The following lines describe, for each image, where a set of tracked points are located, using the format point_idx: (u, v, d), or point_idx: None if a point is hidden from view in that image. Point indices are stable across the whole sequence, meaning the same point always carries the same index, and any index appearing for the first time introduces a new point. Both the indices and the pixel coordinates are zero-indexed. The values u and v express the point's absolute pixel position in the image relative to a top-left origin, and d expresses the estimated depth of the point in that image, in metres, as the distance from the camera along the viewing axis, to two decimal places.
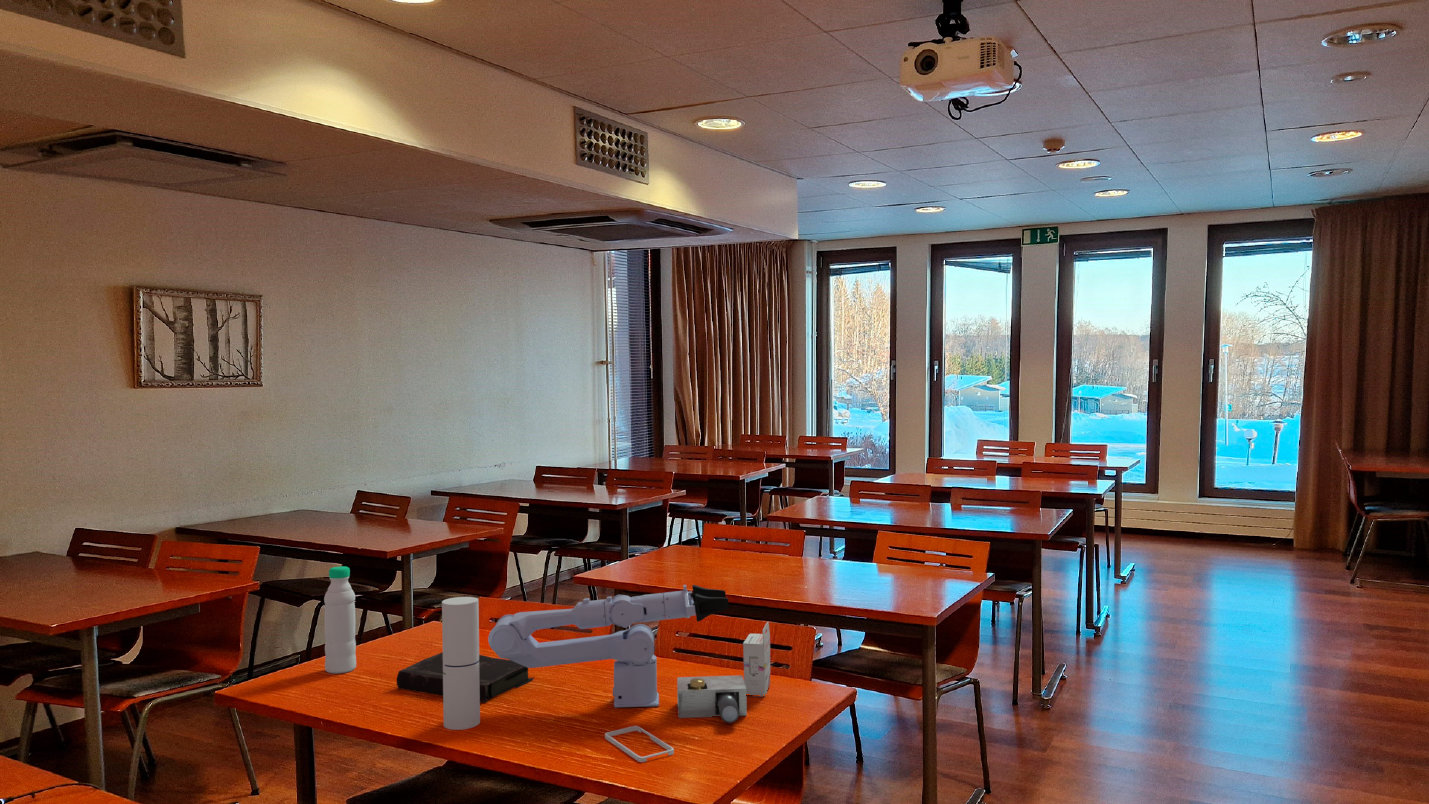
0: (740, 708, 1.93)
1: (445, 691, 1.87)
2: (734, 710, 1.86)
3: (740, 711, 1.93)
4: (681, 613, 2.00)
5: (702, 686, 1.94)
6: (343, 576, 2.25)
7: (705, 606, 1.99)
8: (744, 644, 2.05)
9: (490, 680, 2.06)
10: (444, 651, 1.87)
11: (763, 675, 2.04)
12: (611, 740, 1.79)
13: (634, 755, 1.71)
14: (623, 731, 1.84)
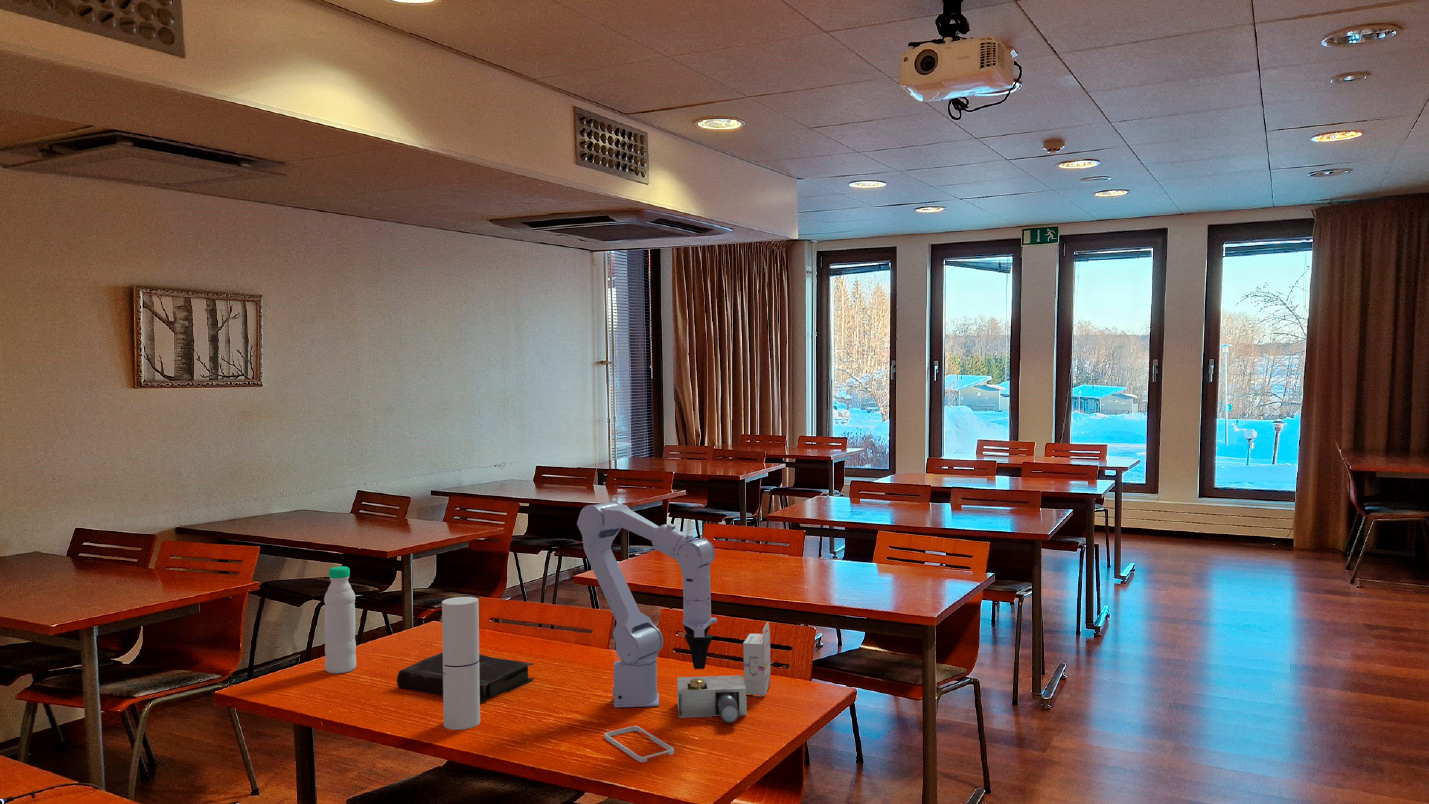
0: (740, 708, 1.93)
1: (445, 691, 1.87)
2: (734, 710, 1.86)
3: (740, 711, 1.93)
4: (691, 617, 1.92)
5: (702, 686, 1.94)
6: (343, 576, 2.25)
7: (699, 645, 1.90)
8: (744, 644, 2.05)
9: (488, 680, 2.05)
10: (444, 651, 1.87)
11: (763, 675, 2.04)
12: (611, 740, 1.79)
13: (634, 755, 1.71)
14: (622, 731, 1.84)
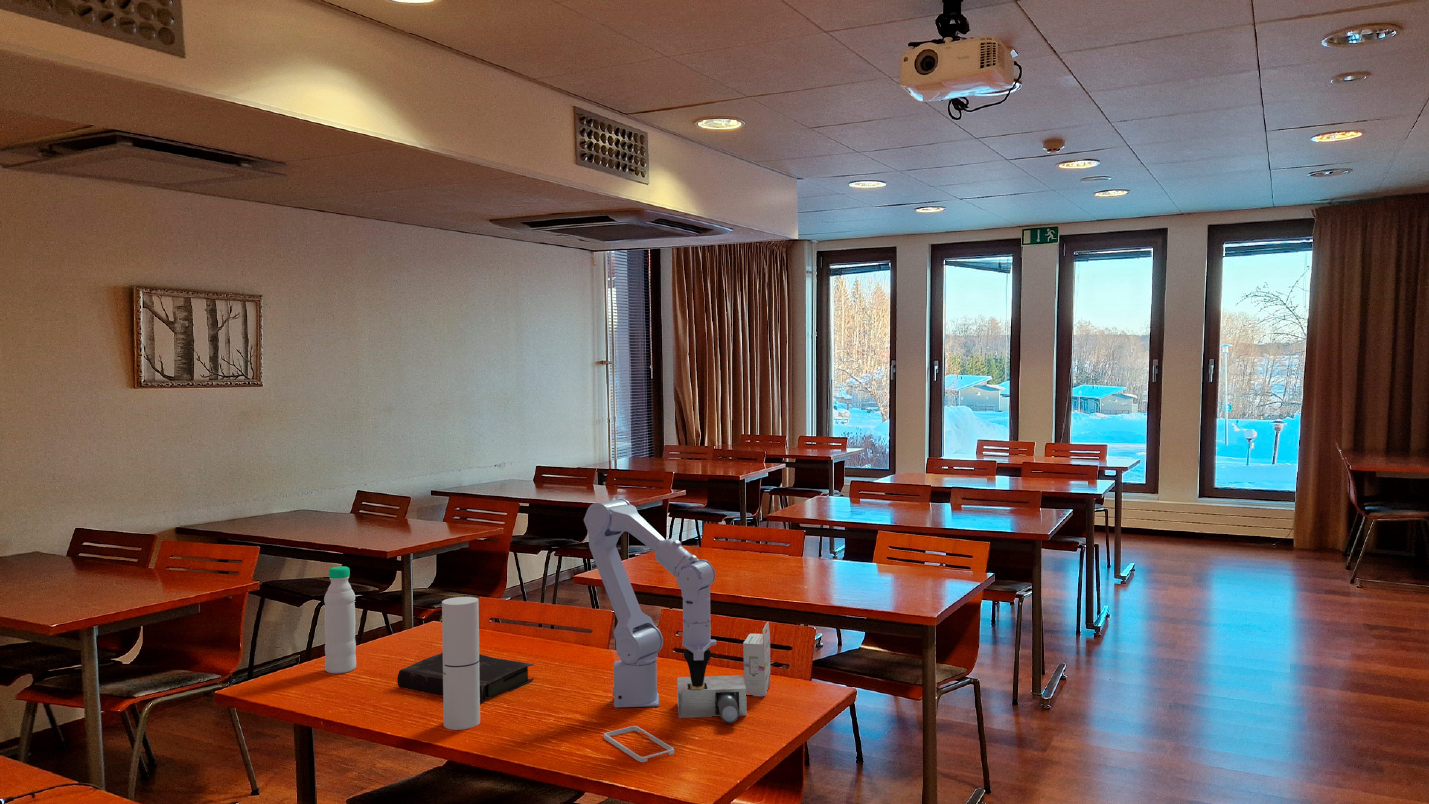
0: (740, 708, 1.93)
1: (445, 691, 1.87)
2: (734, 710, 1.86)
3: (740, 711, 1.93)
4: (691, 639, 1.92)
5: None
6: (343, 576, 2.25)
7: (697, 662, 1.94)
8: (744, 644, 2.05)
9: (487, 680, 2.05)
10: (444, 651, 1.87)
11: (763, 675, 2.04)
12: (610, 740, 1.79)
13: (634, 755, 1.71)
14: (622, 731, 1.84)
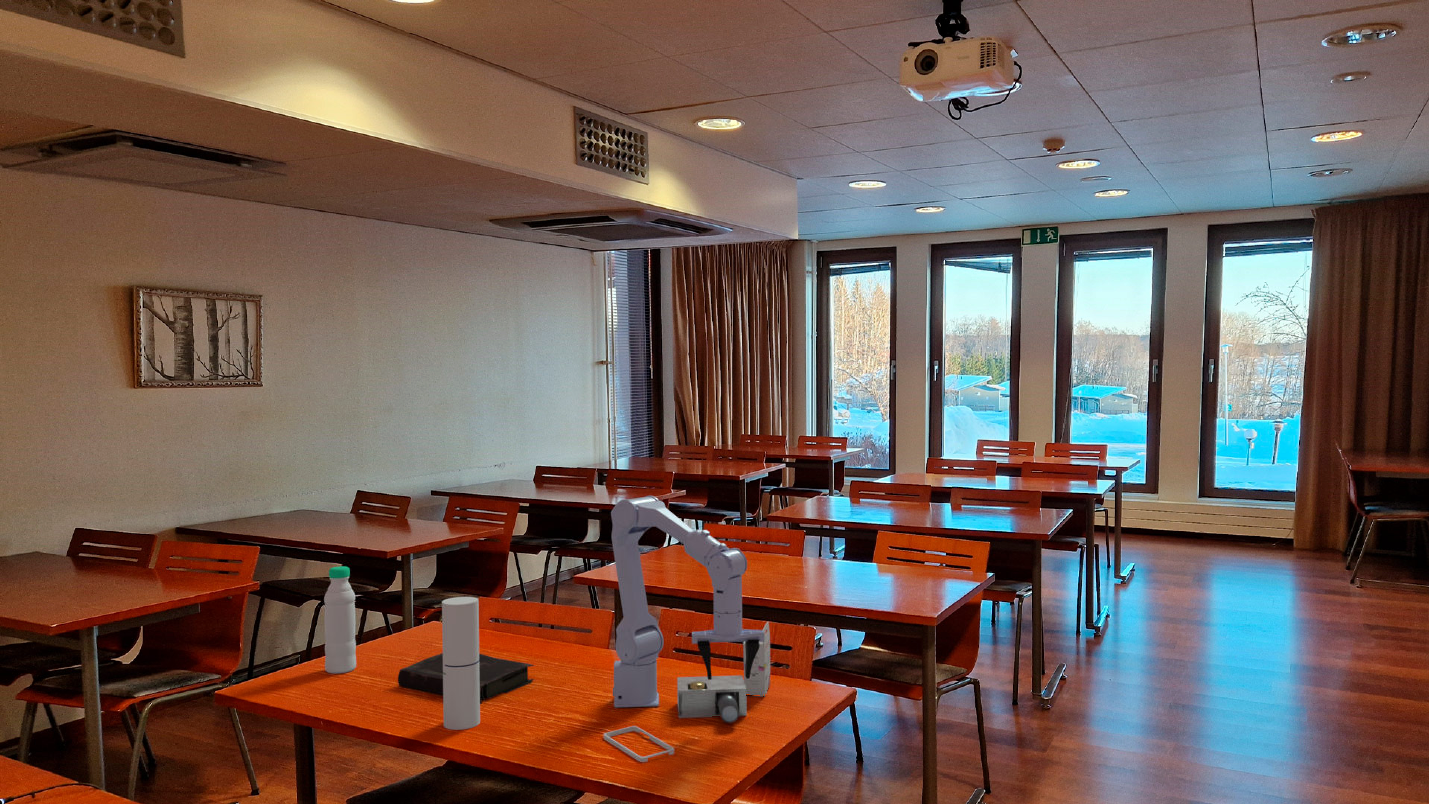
0: (740, 708, 1.93)
1: (445, 691, 1.87)
2: (734, 710, 1.86)
3: (740, 711, 1.93)
4: None
5: None
6: (343, 576, 2.25)
7: None
8: (744, 644, 2.05)
9: (485, 680, 2.05)
10: (444, 651, 1.87)
11: (763, 675, 2.04)
12: (610, 740, 1.78)
13: (635, 755, 1.71)
14: (621, 731, 1.83)
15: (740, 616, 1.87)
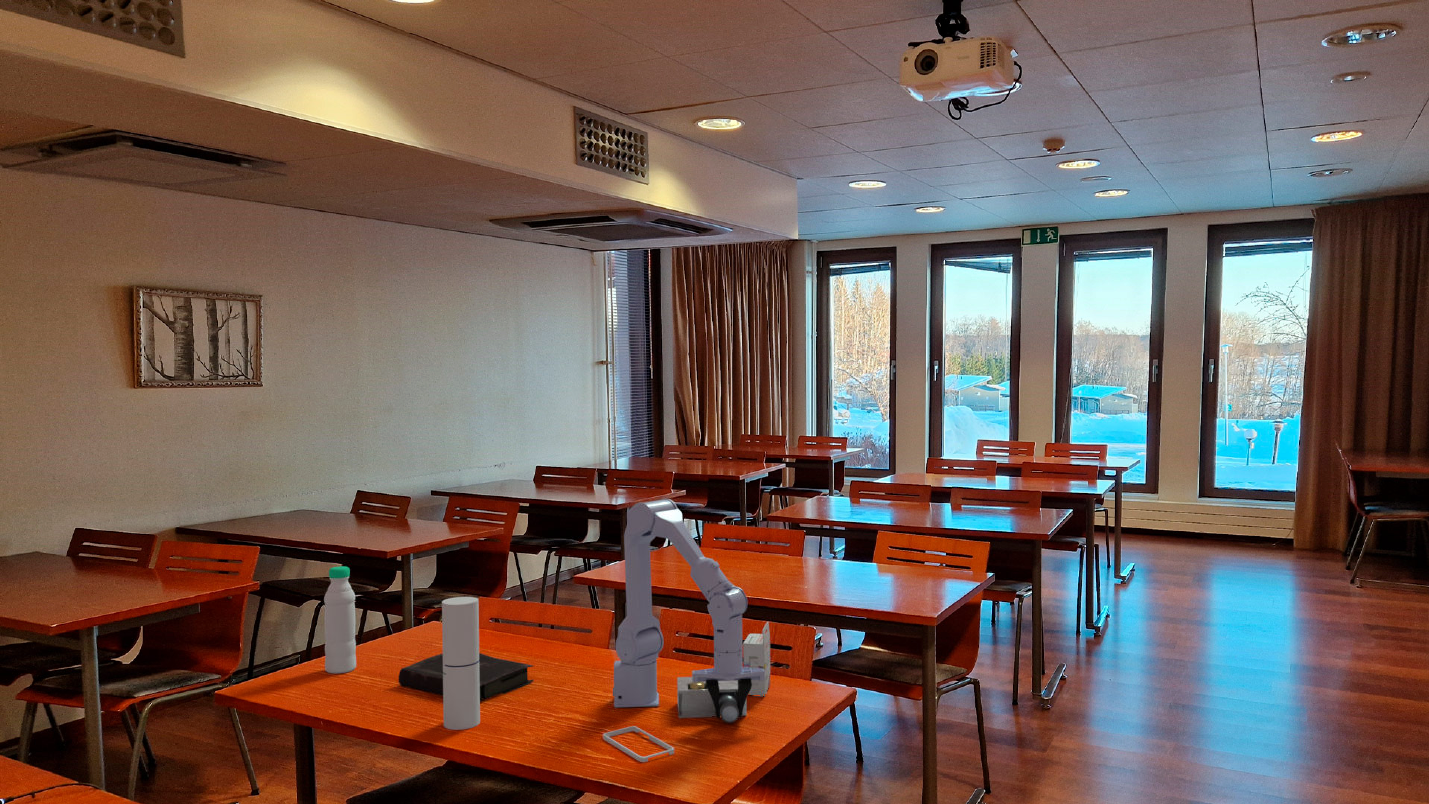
0: None
1: (445, 691, 1.87)
2: (734, 710, 1.86)
3: None
4: None
5: None
6: (343, 576, 2.25)
7: None
8: (744, 644, 2.05)
9: (483, 681, 2.05)
10: (444, 651, 1.87)
11: None
12: (610, 741, 1.78)
13: (635, 755, 1.71)
14: (621, 731, 1.83)
15: (740, 655, 1.87)
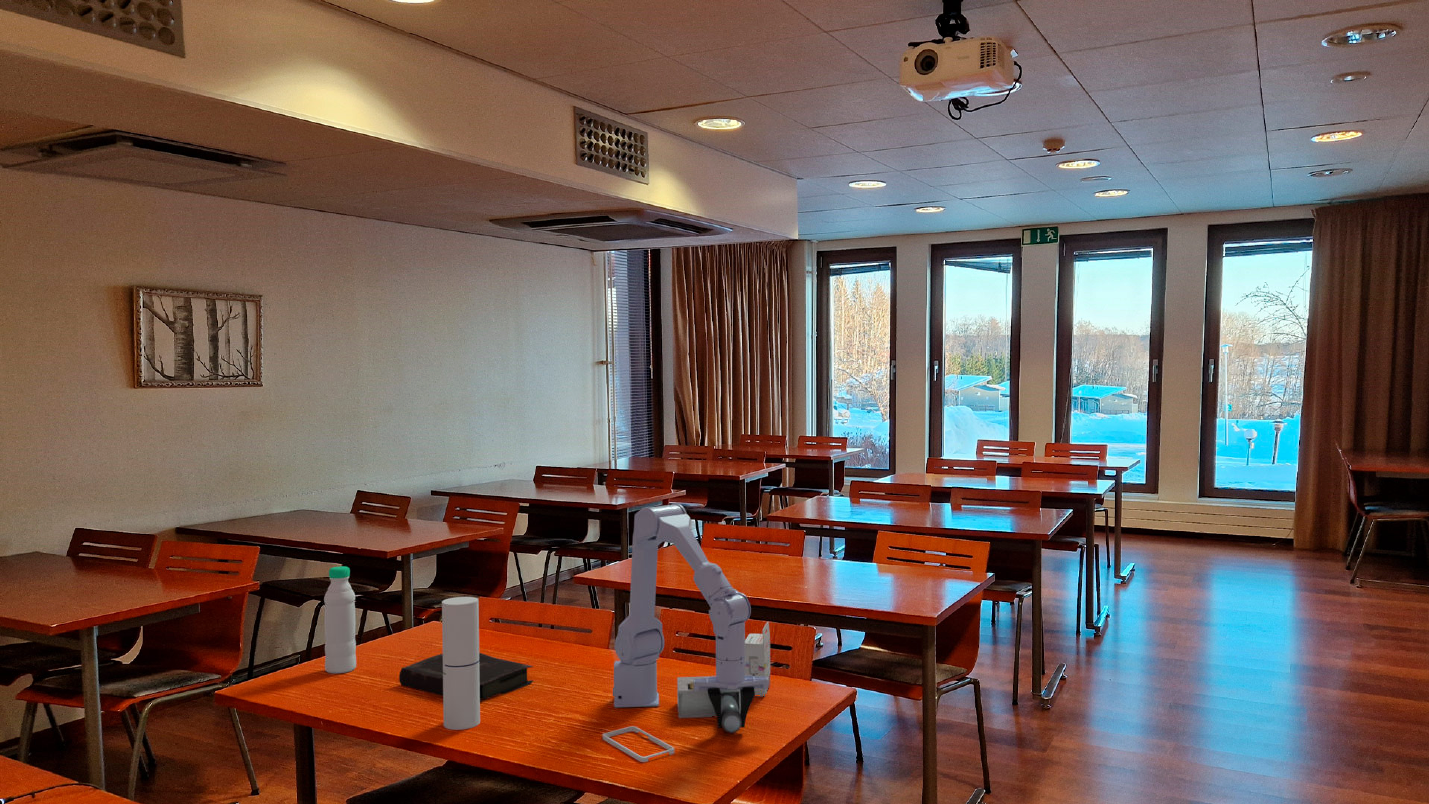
0: (740, 708, 1.93)
1: (445, 691, 1.87)
2: (736, 720, 1.81)
3: None
4: None
5: None
6: (343, 576, 2.25)
7: None
8: None
9: (481, 681, 2.05)
10: (444, 651, 1.87)
11: (763, 675, 2.04)
12: (610, 741, 1.78)
13: (635, 755, 1.71)
14: (620, 732, 1.83)
15: (743, 663, 1.82)
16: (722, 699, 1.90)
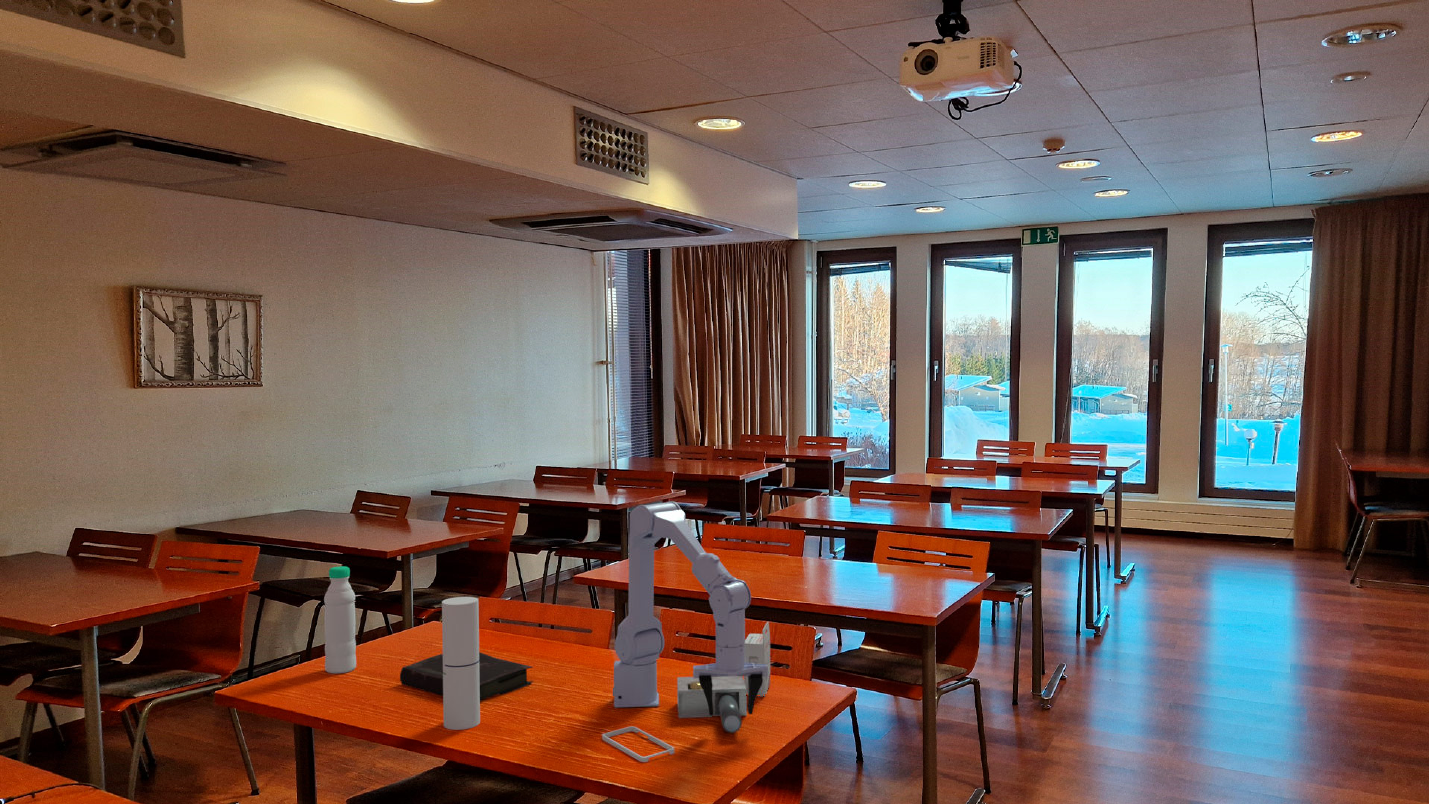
0: (740, 708, 1.93)
1: (445, 691, 1.87)
2: (736, 720, 1.81)
3: (740, 711, 1.93)
4: None
5: None
6: (343, 576, 2.25)
7: None
8: None
9: (479, 681, 2.04)
10: (444, 651, 1.87)
11: None
12: (609, 741, 1.78)
13: (636, 755, 1.71)
14: (620, 732, 1.83)
15: (743, 650, 1.82)
16: (722, 699, 1.90)
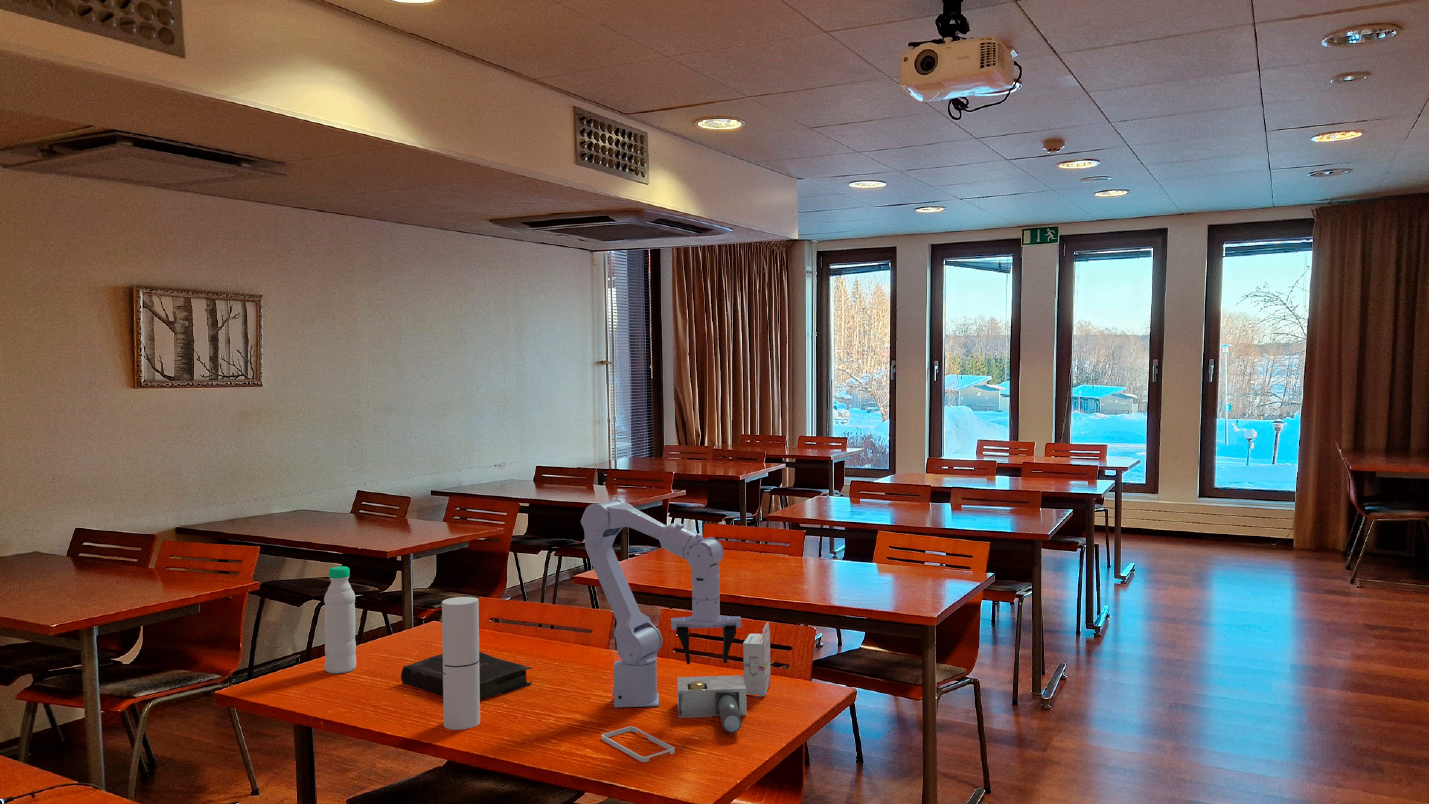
0: (740, 708, 1.93)
1: (445, 691, 1.87)
2: (736, 720, 1.81)
3: (740, 711, 1.93)
4: None
5: None
6: (343, 576, 2.25)
7: None
8: (744, 644, 2.05)
9: None
10: (444, 651, 1.87)
11: (763, 675, 2.04)
12: (609, 741, 1.78)
13: (636, 755, 1.71)
14: (619, 732, 1.83)
15: (718, 603, 1.94)
16: (722, 699, 1.90)
